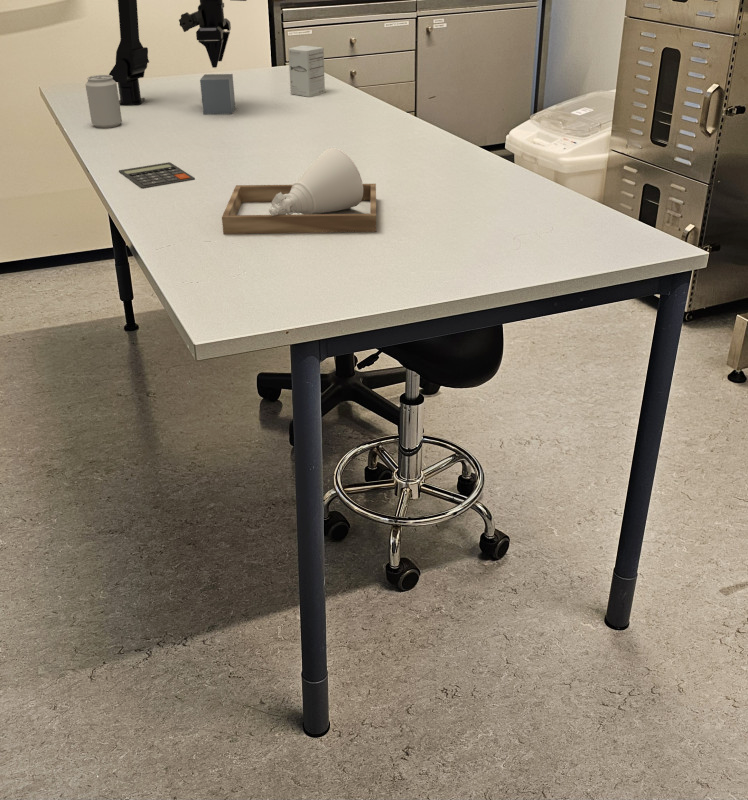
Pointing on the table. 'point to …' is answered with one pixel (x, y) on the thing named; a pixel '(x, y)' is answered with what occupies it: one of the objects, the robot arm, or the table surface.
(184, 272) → the table surface
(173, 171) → the calculator
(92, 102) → the can
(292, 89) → the supplement box
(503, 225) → the table surface
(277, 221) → the wooden tray
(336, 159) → the rocket engine
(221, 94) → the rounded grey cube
